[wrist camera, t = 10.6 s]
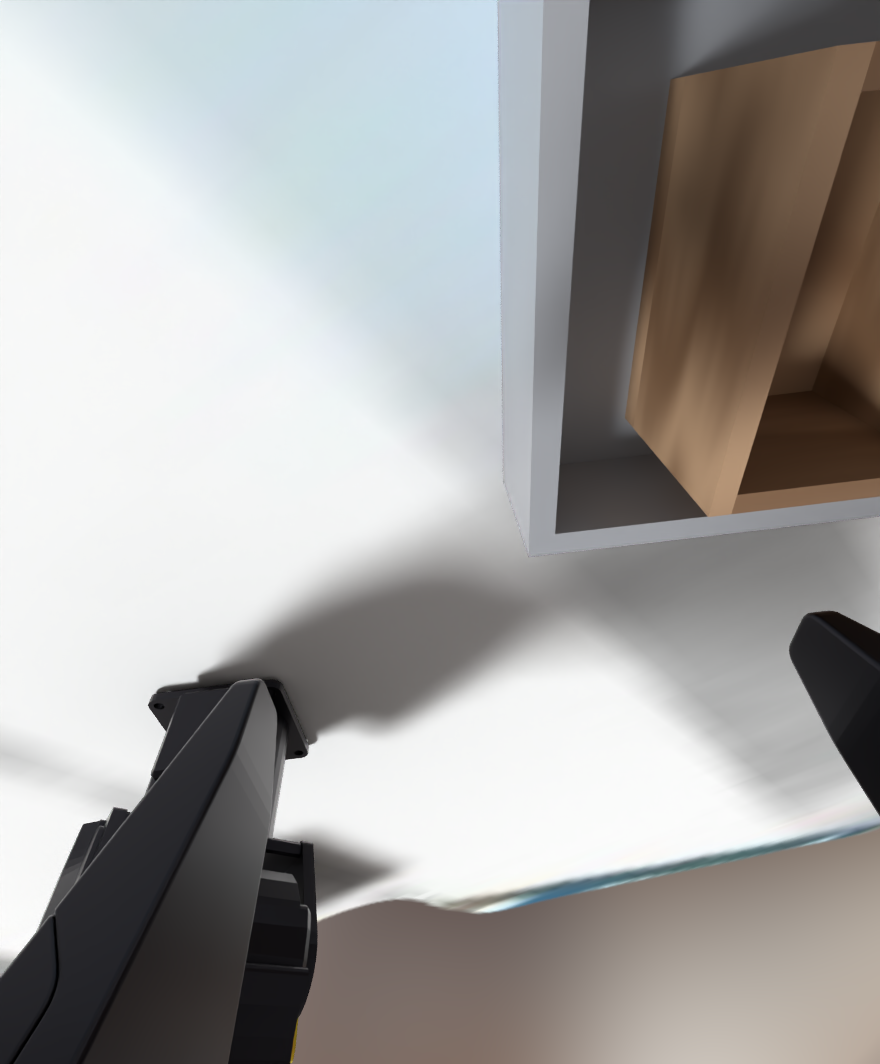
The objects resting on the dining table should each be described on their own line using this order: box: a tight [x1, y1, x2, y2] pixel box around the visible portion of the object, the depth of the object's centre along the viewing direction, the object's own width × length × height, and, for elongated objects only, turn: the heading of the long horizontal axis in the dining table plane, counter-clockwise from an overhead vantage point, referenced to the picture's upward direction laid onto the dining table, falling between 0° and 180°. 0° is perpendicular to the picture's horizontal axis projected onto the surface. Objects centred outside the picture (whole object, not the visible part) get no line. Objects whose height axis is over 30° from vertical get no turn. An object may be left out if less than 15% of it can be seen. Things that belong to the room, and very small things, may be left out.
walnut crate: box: [625, 41, 880, 517], centre depth 13 cm, size 9×6×6 cm
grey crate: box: [497, 0, 880, 557], centre depth 14 cm, size 14×15×5 cm
